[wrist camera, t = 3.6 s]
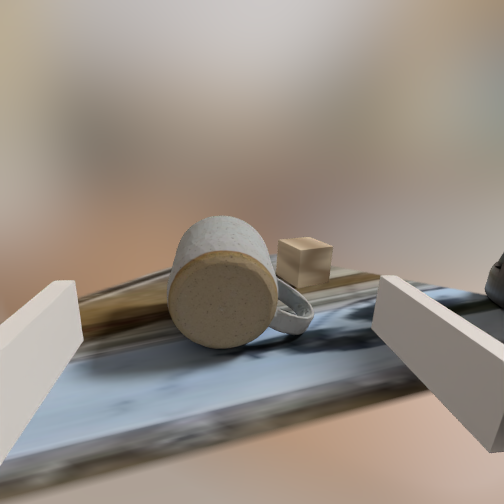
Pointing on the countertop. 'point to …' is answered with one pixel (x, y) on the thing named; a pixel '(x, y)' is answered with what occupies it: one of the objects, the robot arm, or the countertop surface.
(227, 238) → the ceramic mug
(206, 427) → the countertop surface
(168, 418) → the countertop surface
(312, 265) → the birch block
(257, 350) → the countertop surface
